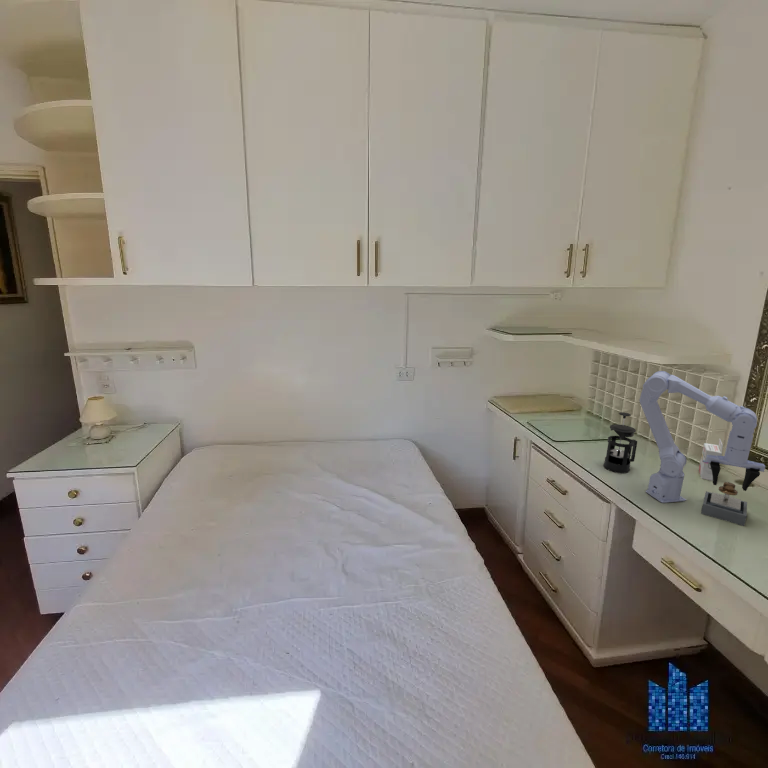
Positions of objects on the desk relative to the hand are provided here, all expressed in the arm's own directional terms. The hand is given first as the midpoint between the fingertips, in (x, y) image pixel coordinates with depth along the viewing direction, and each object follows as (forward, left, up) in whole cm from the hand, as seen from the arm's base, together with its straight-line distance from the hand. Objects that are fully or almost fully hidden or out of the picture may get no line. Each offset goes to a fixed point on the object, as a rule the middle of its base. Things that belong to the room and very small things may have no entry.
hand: (729, 486), depth 139 cm
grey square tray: (0, 0, -9) cm, 9 cm away
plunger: (0, 0, -6) cm, 6 cm away
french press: (-12, +35, -10) cm, 38 cm away
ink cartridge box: (+18, +24, -10) cm, 31 cm away
